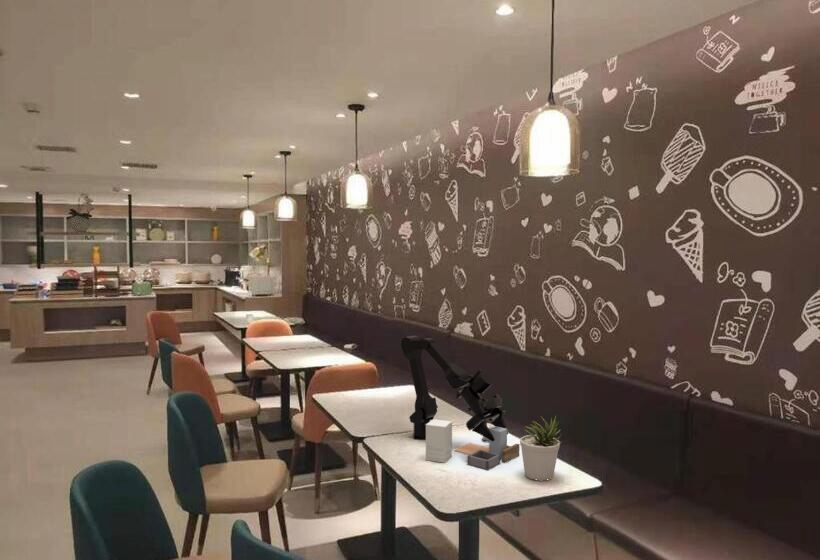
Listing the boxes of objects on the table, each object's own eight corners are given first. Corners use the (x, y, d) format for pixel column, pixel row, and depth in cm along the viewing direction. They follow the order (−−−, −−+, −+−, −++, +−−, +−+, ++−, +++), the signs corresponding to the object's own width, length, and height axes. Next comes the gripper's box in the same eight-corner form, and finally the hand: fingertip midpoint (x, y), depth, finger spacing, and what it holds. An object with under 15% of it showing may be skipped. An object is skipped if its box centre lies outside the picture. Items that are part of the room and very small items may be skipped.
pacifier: (478, 439, 227) (485, 443, 222) (478, 423, 227) (485, 426, 222) (495, 437, 230) (502, 441, 224) (495, 421, 230) (502, 425, 224)
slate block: (488, 457, 207) (489, 429, 206) (495, 453, 210) (496, 426, 210) (500, 460, 204) (500, 431, 203) (506, 456, 207) (507, 428, 207)
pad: (454, 451, 212) (454, 449, 212) (469, 444, 220) (469, 442, 220) (478, 457, 206) (478, 456, 206) (492, 450, 214) (492, 448, 214)
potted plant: (536, 487, 180) (538, 423, 179) (511, 472, 193) (512, 411, 192) (569, 481, 185) (571, 419, 184) (543, 466, 198) (544, 408, 197)
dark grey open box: (467, 464, 199) (467, 455, 199) (480, 458, 205) (480, 449, 205) (487, 470, 194) (487, 461, 194) (500, 463, 200) (500, 454, 200)
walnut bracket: (482, 456, 207) (482, 445, 206) (497, 449, 214) (497, 438, 214) (505, 462, 201) (505, 451, 201) (519, 455, 209) (519, 444, 209)
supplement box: (452, 456, 207) (453, 421, 206) (444, 463, 200) (445, 426, 199) (433, 453, 210) (433, 418, 209) (424, 460, 203) (425, 423, 202)
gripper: (473, 392, 201) (501, 430, 195) (501, 383, 216) (528, 418, 209) (454, 411, 207) (481, 449, 200) (483, 401, 221) (508, 436, 215)
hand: (500, 437), depth 206 cm, fingers open, 9 cm apart
